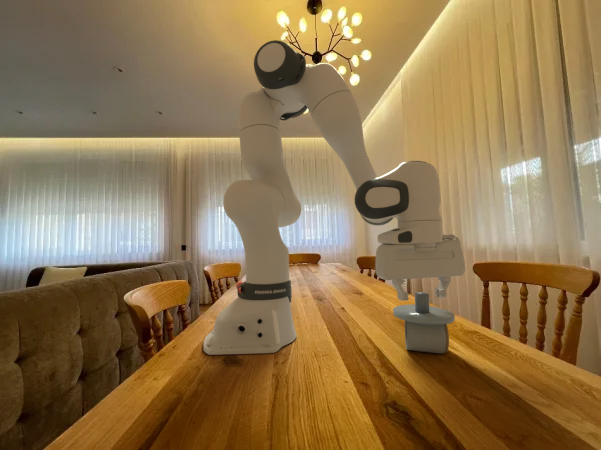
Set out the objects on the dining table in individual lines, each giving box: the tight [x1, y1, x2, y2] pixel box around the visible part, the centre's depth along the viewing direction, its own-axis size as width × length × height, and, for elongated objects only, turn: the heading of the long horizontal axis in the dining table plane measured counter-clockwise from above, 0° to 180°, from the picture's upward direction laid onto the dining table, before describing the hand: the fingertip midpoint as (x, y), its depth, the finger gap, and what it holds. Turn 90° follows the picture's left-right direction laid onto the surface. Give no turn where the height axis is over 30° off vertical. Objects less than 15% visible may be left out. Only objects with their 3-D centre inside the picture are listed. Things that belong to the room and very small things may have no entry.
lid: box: [392, 291, 456, 325], centre depth 55 cm, size 12×12×5 cm
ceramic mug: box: [404, 320, 450, 354], centre depth 57 cm, size 11×8×8 cm
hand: (422, 298), depth 55 cm, fingers open, 8 cm apart
